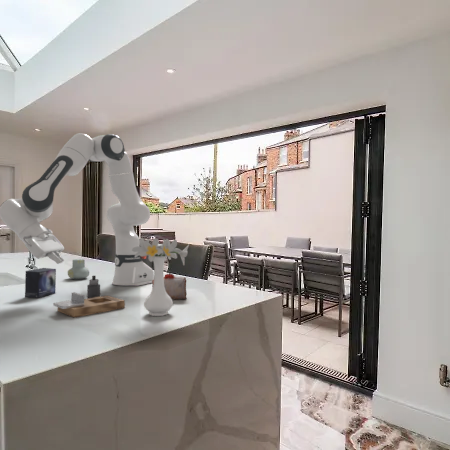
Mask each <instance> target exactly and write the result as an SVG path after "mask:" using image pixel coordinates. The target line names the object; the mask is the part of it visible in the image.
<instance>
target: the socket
mask: <svg viewBox="0 0 450 450" xmlns="http://www.w3.org/2000/svg"><path fill="white" fill-rule="evenodd" d="M125 306H126V305H125V300H124V299H120V298H117V297H114V296H110V295H103V296H102V295H100V297H94V298H88V299H87V298H84V305H83V306H78V307H72V308H66V309H61V308H59V307H57V311H58V312H59V313H62V314H65V315H66V316H69V317H71V318H74V319H75V318H79V317H80V318H81V317H85V316H91V315H95V314H99V313H105V312H111V311H115V310H121V309H125V308H126V307H125Z"/></svg>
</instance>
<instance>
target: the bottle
mask: <svg viewBox="0 0 450 450" xmlns="http://www.w3.org/2000/svg"><path fill="white" fill-rule="evenodd" d="M86 296H87V298H86V299H88V298H94V297H100V296H101V284H100V283H99V279H98V278H96V275H92V276H91V279H89V280H88V284H87V295H86Z"/></svg>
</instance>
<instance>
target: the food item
mask: <svg viewBox="0 0 450 450" xmlns="http://www.w3.org/2000/svg"><path fill="white" fill-rule="evenodd" d="M151 284H152V288H151V290H152V289H153V285H154V279H153V280H152V283H151ZM164 287H165V290H166V292H167V294H168V295H169V296H170V297H171V299H172V300H176V301H177V300H178V301H179V300H186V299H187V277H185V276H175V275H174V274H172V273H171V272H169V273H166V274H164Z"/></svg>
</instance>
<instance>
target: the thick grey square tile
mask: <svg viewBox="0 0 450 450" xmlns="http://www.w3.org/2000/svg"><path fill="white" fill-rule="evenodd" d="M84 299H85V295H84V294H82V293H78V292H75V291H73V292H71V299H70V300H63V301H56V302H53V303H52V304H53V306H54V307H56V308H58V307H59V308H61V309H66V308H72V307H78V306H83V305H84Z"/></svg>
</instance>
